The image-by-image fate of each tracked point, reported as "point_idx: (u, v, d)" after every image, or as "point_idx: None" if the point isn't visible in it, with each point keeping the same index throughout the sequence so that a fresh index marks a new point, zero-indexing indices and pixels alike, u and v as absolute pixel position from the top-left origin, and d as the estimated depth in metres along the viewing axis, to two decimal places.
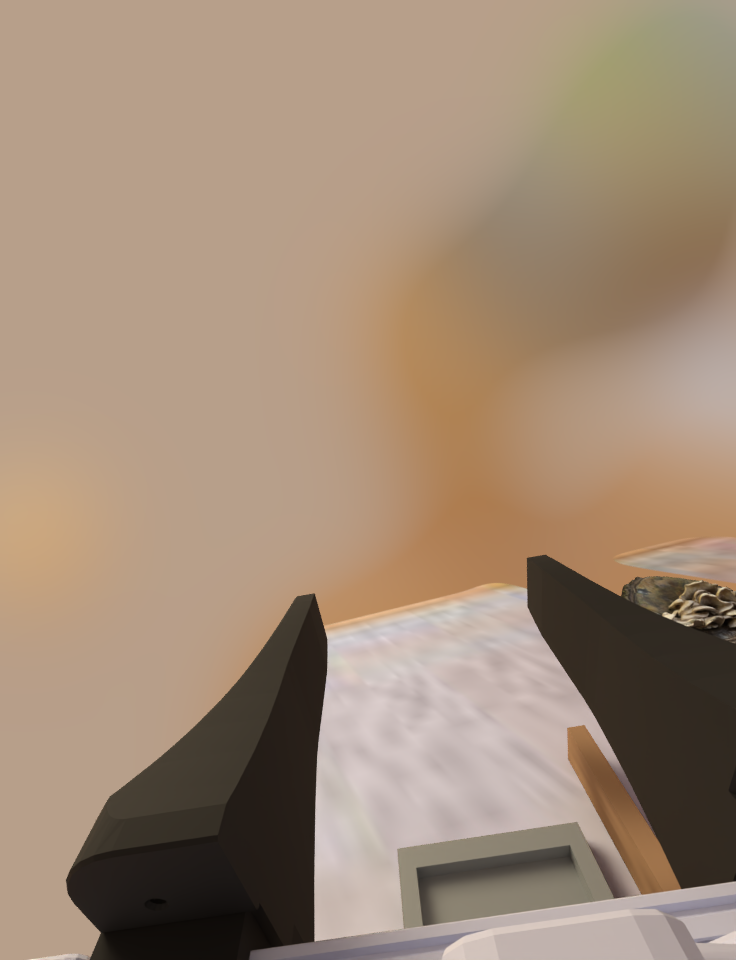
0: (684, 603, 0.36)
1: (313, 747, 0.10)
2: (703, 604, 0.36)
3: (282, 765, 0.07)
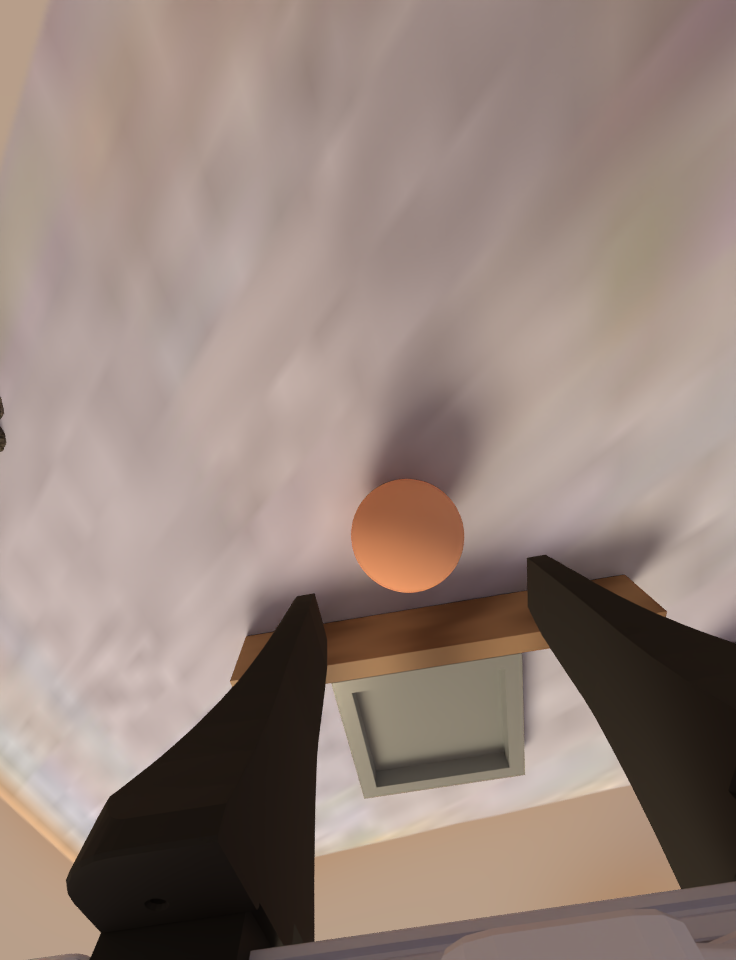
0: None
1: (313, 747, 0.10)
2: None
3: (282, 765, 0.07)
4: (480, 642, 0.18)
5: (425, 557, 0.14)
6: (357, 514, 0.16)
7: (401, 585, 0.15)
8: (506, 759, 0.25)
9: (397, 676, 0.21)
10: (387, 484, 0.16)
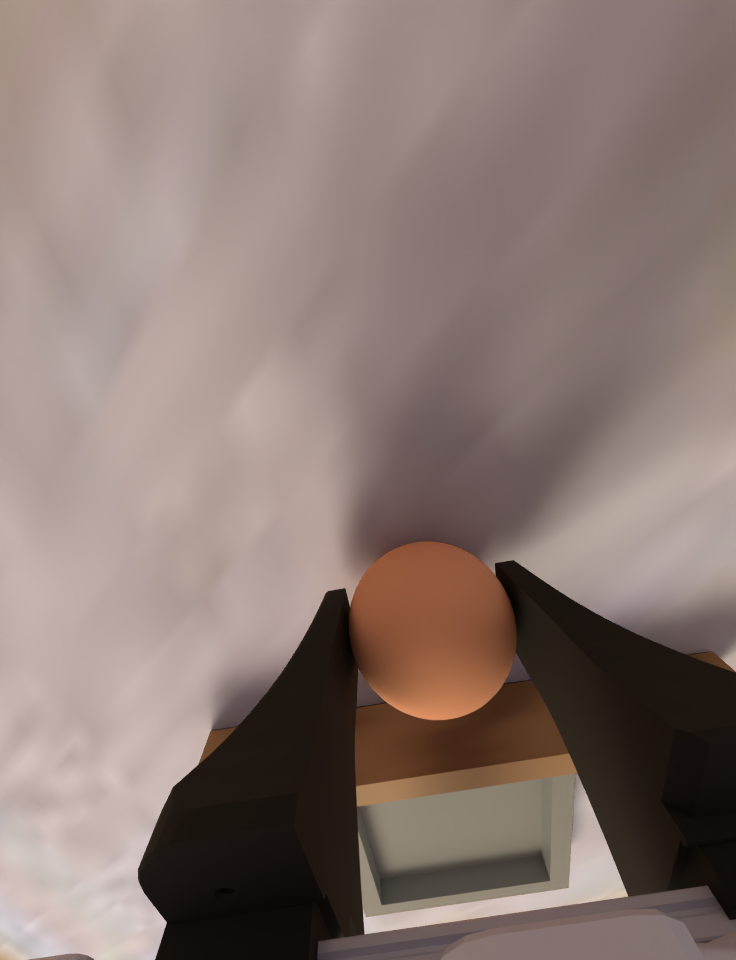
0: None
1: (351, 741, 0.10)
2: None
3: (332, 757, 0.07)
4: (528, 760, 0.13)
5: (466, 683, 0.09)
6: (357, 599, 0.11)
7: (426, 717, 0.10)
8: (545, 868, 0.20)
9: None
10: (402, 554, 0.11)
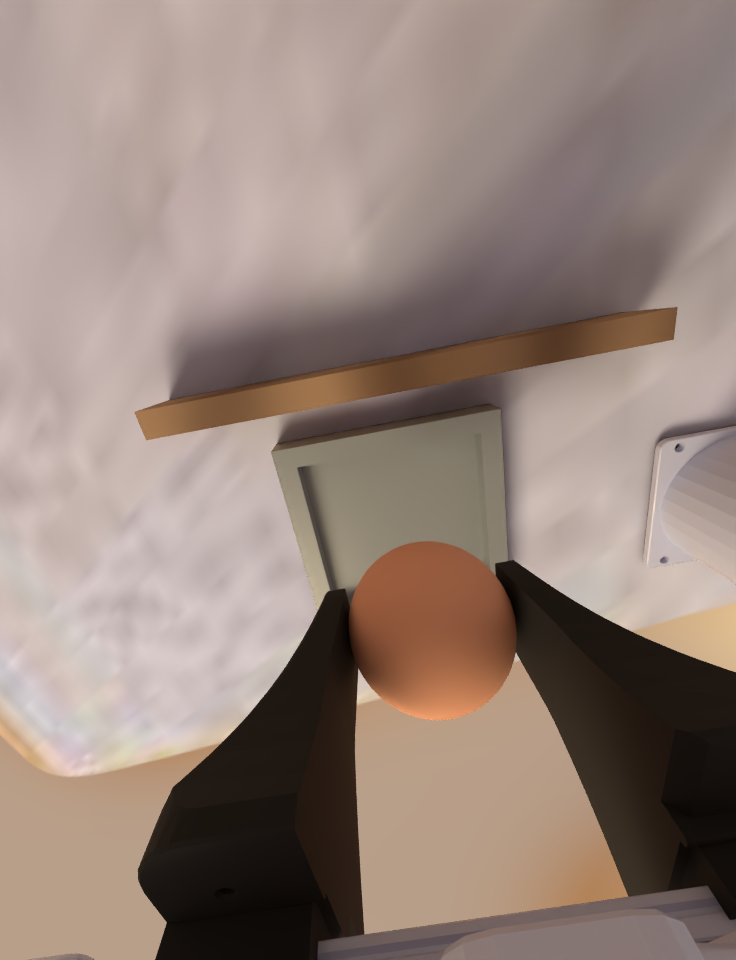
0: None
1: (351, 741, 0.10)
2: None
3: (332, 757, 0.07)
4: (444, 356, 0.15)
5: (466, 683, 0.09)
6: (357, 599, 0.11)
7: (426, 717, 0.10)
8: None
9: (350, 442, 0.17)
10: (402, 553, 0.11)
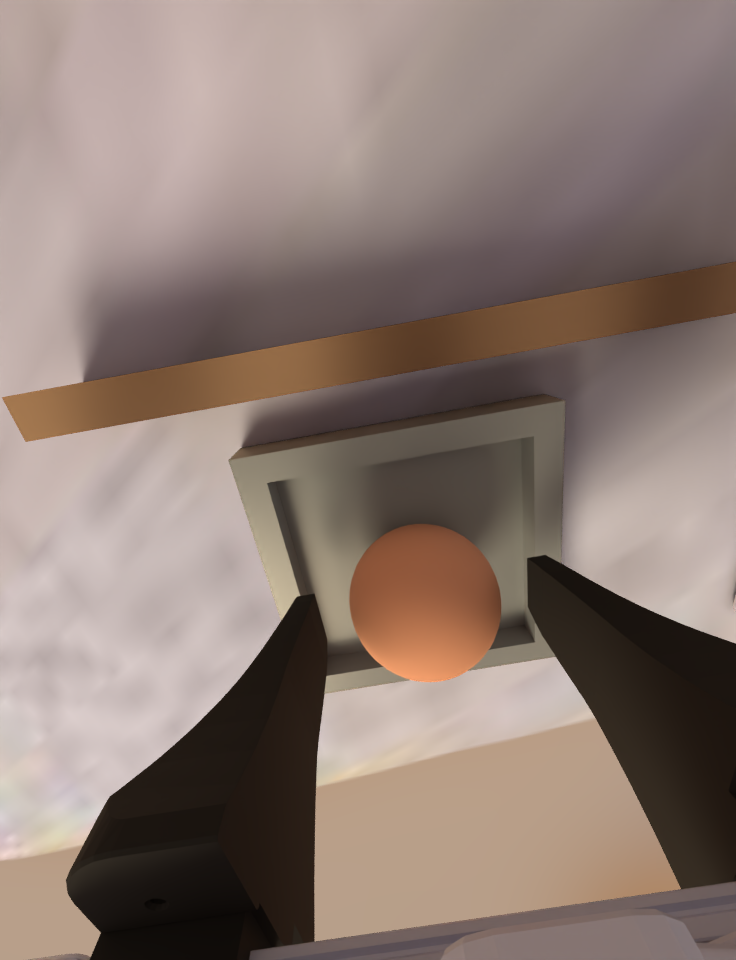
0: None
1: (313, 747, 0.10)
2: None
3: (282, 765, 0.07)
4: (494, 312, 0.09)
5: (454, 645, 0.10)
6: (357, 575, 0.12)
7: (419, 678, 0.11)
8: (529, 632, 0.16)
9: (345, 447, 0.12)
10: (397, 533, 0.12)
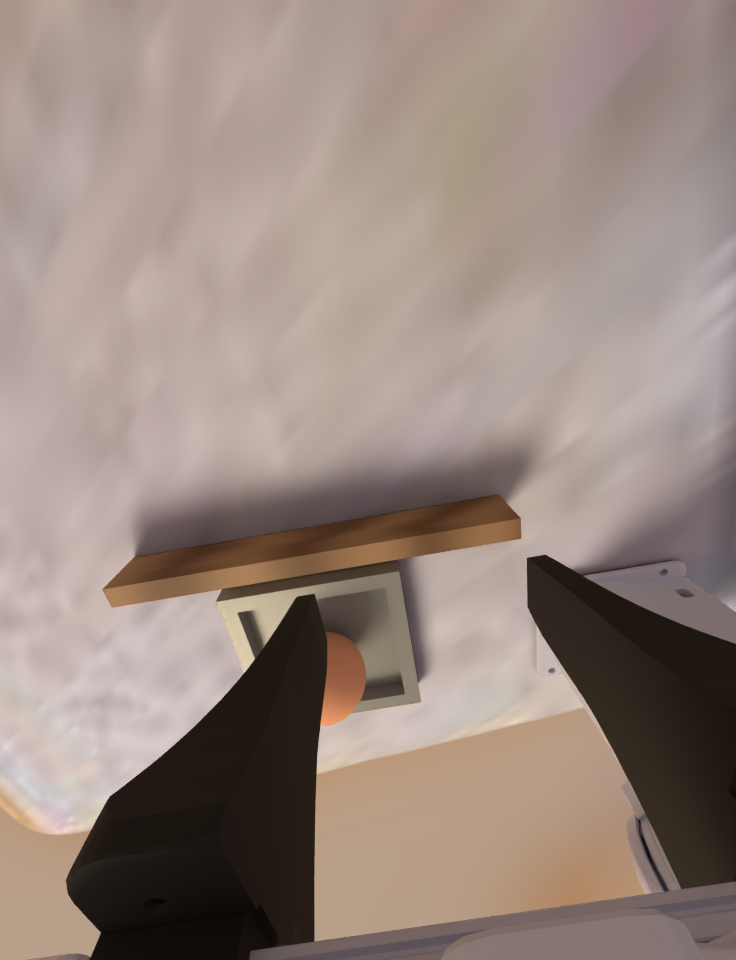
0: None
1: (313, 747, 0.10)
2: None
3: (282, 765, 0.07)
4: (343, 550, 0.19)
5: (328, 709, 0.20)
6: None
7: None
8: (403, 687, 0.25)
9: (279, 595, 0.22)
10: None
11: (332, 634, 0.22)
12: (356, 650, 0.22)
